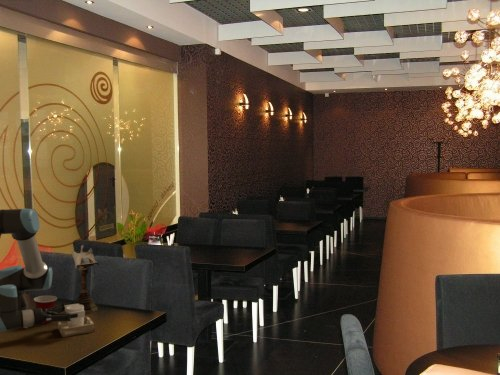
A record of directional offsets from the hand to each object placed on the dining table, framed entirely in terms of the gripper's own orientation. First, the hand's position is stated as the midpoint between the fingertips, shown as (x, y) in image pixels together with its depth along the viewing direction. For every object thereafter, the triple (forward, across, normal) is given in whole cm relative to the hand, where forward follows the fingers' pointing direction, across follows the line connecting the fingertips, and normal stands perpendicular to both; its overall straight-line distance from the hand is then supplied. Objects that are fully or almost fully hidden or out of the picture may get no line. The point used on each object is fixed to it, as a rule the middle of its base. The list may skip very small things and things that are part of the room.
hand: (81, 309), depth 248 cm
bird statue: (+8, -27, -9) cm, 30 cm away
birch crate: (-3, 0, -9) cm, 10 cm away
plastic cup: (-13, -21, -9) cm, 26 cm away
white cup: (-3, 0, -8) cm, 9 cm away
